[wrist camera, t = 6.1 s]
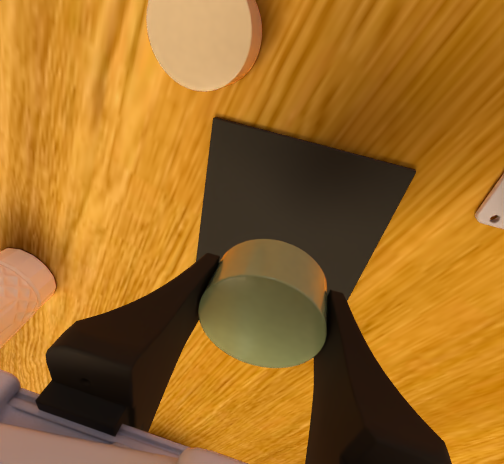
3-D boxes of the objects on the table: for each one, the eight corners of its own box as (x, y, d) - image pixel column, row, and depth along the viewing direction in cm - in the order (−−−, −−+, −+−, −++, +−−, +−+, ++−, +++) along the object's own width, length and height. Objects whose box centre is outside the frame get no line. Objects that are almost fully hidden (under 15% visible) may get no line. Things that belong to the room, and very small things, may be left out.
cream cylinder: (273, -18, 15) (262, -30, 13) (252, 95, 18) (241, 102, 16) (174, -40, 16) (146, -55, 13) (169, 74, 19) (146, 78, 16)
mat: (415, 169, 18) (416, 171, 18) (321, 345, 28) (321, 349, 28) (214, 116, 19) (212, 118, 19) (192, 304, 29) (190, 307, 29)
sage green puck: (344, 254, 13) (348, 301, 11) (307, 332, 16) (304, 382, 14) (227, 220, 13) (204, 258, 11) (212, 302, 16) (192, 346, 14)
